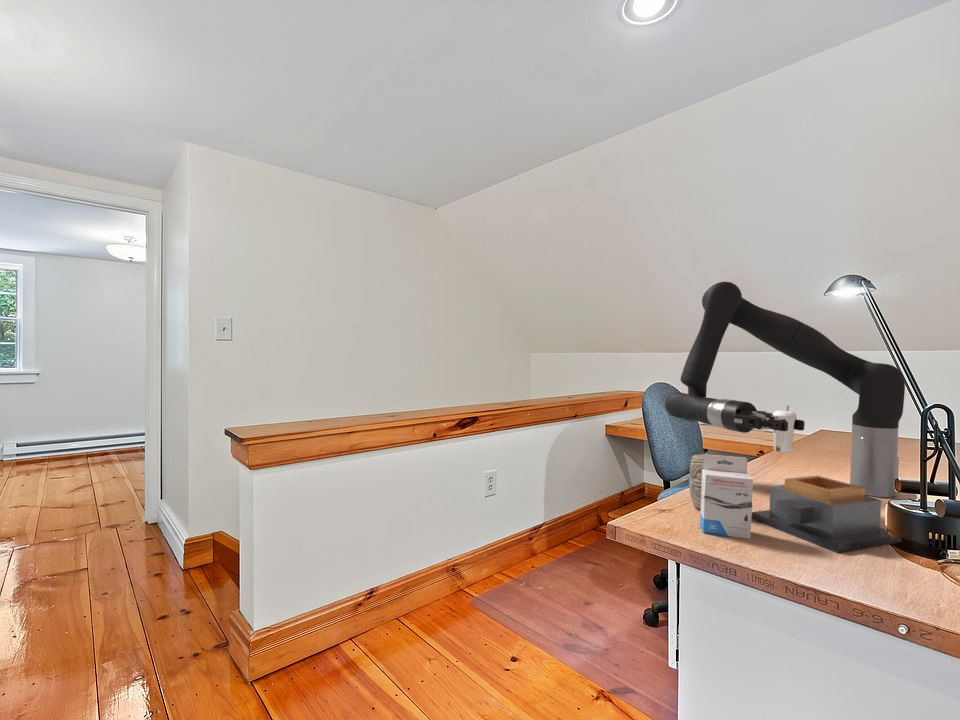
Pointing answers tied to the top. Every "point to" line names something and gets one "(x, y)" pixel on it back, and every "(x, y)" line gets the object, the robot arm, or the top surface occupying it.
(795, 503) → the stepped frame block
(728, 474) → the ink box
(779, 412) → the milkshake
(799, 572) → the top surface
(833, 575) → the top surface
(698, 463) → the carving
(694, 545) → the top surface
